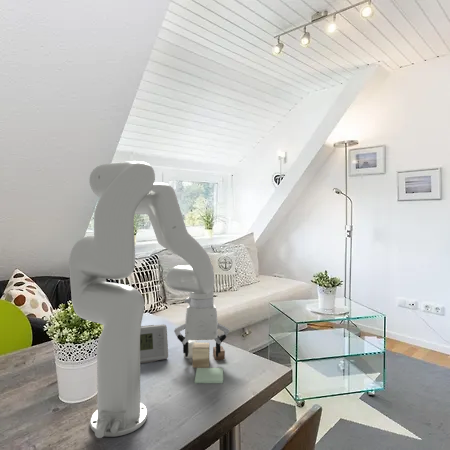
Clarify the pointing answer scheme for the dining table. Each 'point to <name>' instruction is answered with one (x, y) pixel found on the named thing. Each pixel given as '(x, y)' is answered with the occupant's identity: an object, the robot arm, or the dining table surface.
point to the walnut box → (221, 354)
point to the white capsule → (190, 349)
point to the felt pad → (209, 375)
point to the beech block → (201, 355)
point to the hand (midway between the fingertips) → (202, 355)
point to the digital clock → (153, 343)
